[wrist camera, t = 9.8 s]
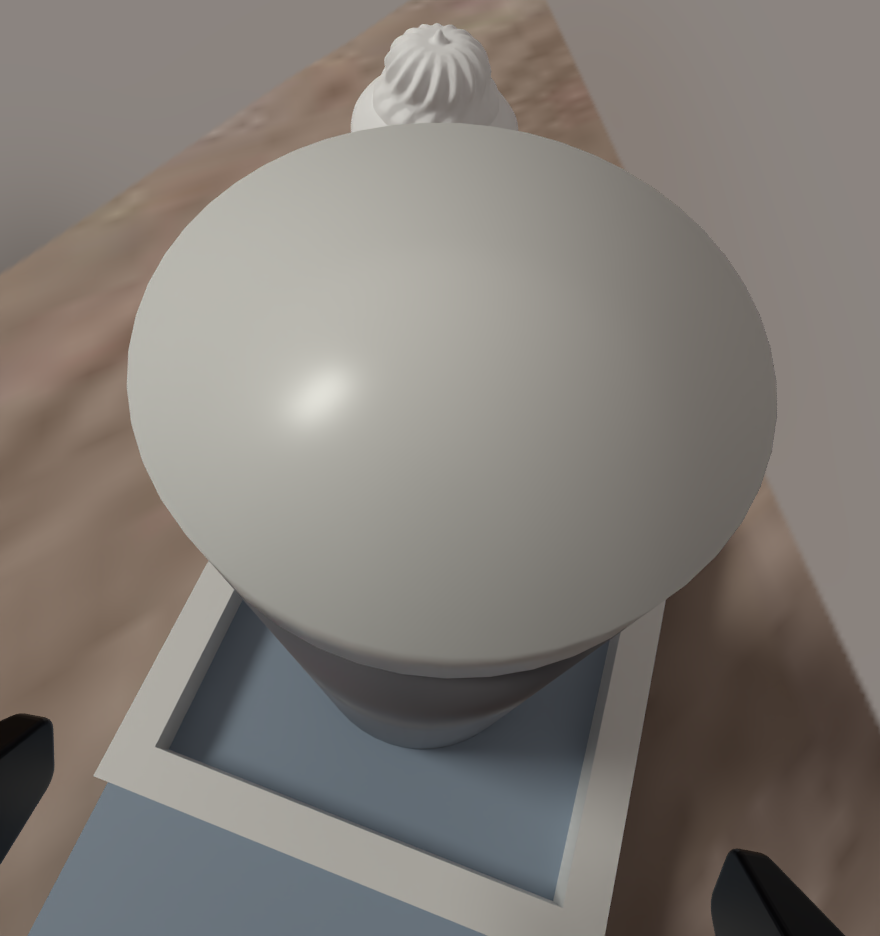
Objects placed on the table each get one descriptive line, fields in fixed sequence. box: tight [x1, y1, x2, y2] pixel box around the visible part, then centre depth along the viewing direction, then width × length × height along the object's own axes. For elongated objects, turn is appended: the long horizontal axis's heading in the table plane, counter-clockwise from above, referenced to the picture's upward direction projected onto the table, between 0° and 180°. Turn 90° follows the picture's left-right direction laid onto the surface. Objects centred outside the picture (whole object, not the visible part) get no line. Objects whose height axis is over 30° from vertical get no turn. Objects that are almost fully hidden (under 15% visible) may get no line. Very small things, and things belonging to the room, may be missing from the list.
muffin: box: [351, 23, 518, 133], centre depth 23 cm, size 6×6×7 cm
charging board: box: [28, 561, 666, 936], centre depth 16 cm, size 18×12×2 cm, turn 161°
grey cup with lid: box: [127, 123, 777, 749], centre depth 12 cm, size 6×6×13 cm
